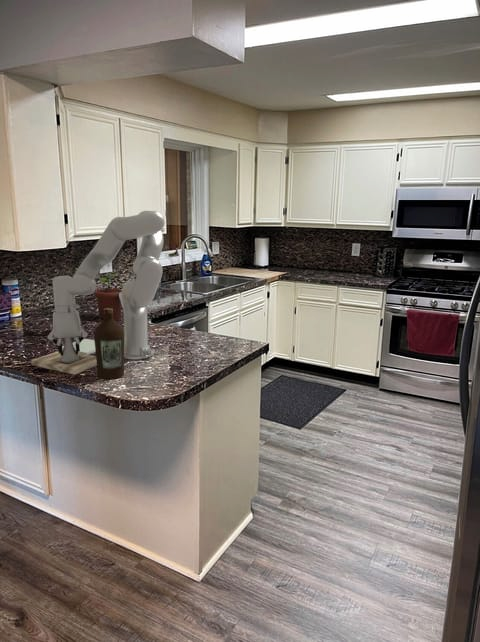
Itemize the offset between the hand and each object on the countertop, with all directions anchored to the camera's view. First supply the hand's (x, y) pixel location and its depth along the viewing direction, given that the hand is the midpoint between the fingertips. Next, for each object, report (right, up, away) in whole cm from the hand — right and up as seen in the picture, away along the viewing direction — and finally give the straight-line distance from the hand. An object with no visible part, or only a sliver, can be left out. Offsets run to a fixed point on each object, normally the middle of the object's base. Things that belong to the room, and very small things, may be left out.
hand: (69, 353), depth 180 cm
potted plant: (-4, +13, +75) cm, 76 cm away
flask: (0, -3, +1) cm, 3 cm away
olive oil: (+19, -8, -11) cm, 23 cm away
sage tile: (-1, +1, +22) cm, 22 cm away
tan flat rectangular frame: (-1, -4, +1) cm, 4 cm away
